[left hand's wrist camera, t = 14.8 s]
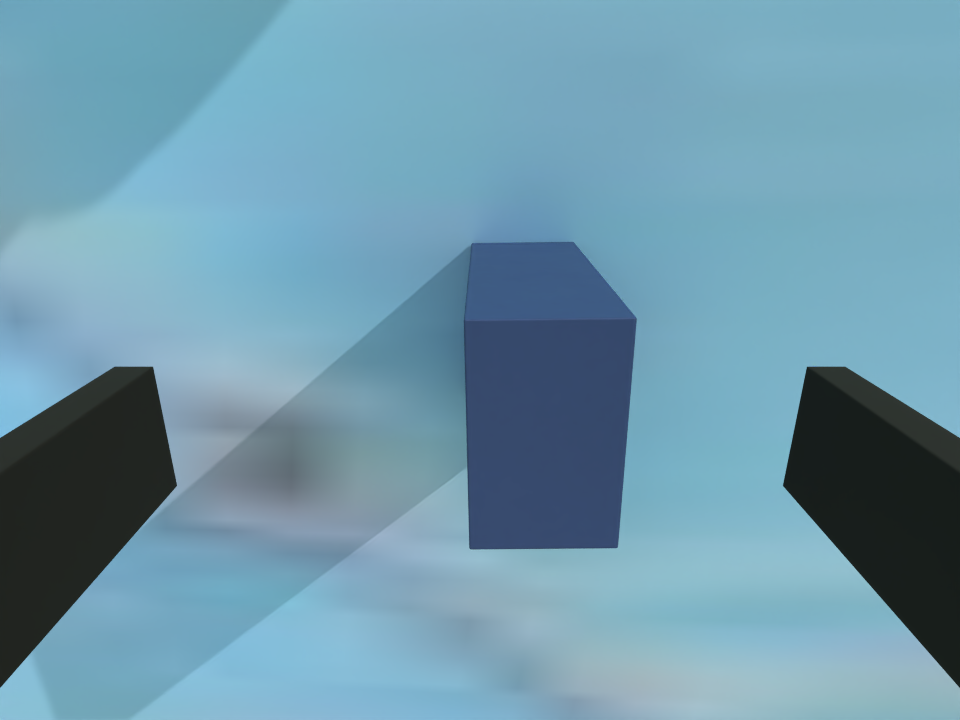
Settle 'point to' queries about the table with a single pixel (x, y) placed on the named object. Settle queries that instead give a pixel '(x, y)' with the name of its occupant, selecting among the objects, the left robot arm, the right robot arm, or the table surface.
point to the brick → (544, 398)
